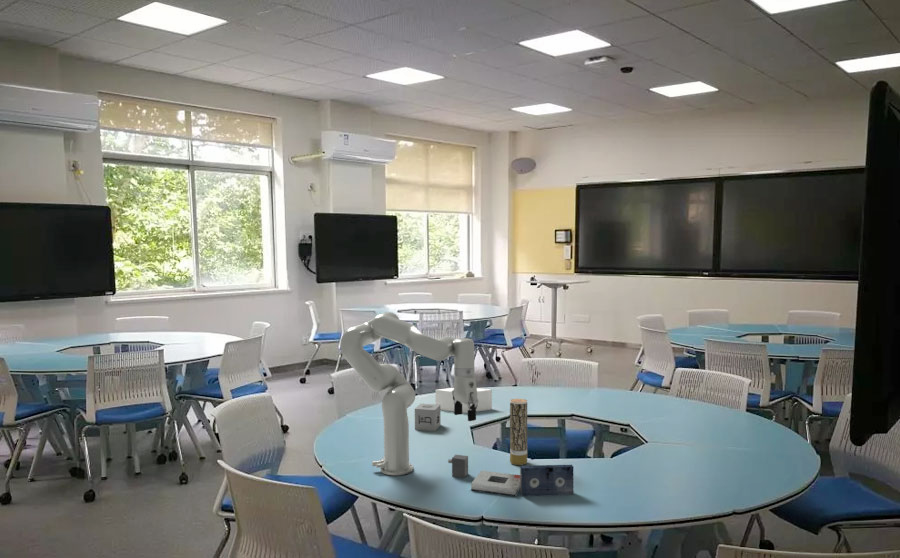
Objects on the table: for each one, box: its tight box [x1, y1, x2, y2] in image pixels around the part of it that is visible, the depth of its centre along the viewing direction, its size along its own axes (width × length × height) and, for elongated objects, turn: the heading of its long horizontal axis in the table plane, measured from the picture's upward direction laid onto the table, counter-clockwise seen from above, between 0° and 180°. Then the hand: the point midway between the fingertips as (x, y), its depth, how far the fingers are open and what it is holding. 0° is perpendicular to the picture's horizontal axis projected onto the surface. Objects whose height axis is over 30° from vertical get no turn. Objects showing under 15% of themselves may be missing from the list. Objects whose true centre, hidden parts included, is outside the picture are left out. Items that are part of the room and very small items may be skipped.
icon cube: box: [414, 403, 442, 432], centre depth 285 cm, size 10×10×10 cm
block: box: [435, 387, 493, 414], centre depth 317 cm, size 15×30×11 cm, turn 88°
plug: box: [447, 454, 469, 479], centre depth 224 cm, size 7×4×7 cm, turn 70°
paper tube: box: [509, 398, 528, 466], centre depth 236 cm, size 7×7×25 cm
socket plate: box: [470, 470, 520, 497], centre depth 213 cm, size 16×13×3 cm
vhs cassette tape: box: [519, 464, 575, 497], centre depth 206 cm, size 18×3×10 cm, turn 92°
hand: (465, 417), depth 222 cm, fingers open, 9 cm apart
